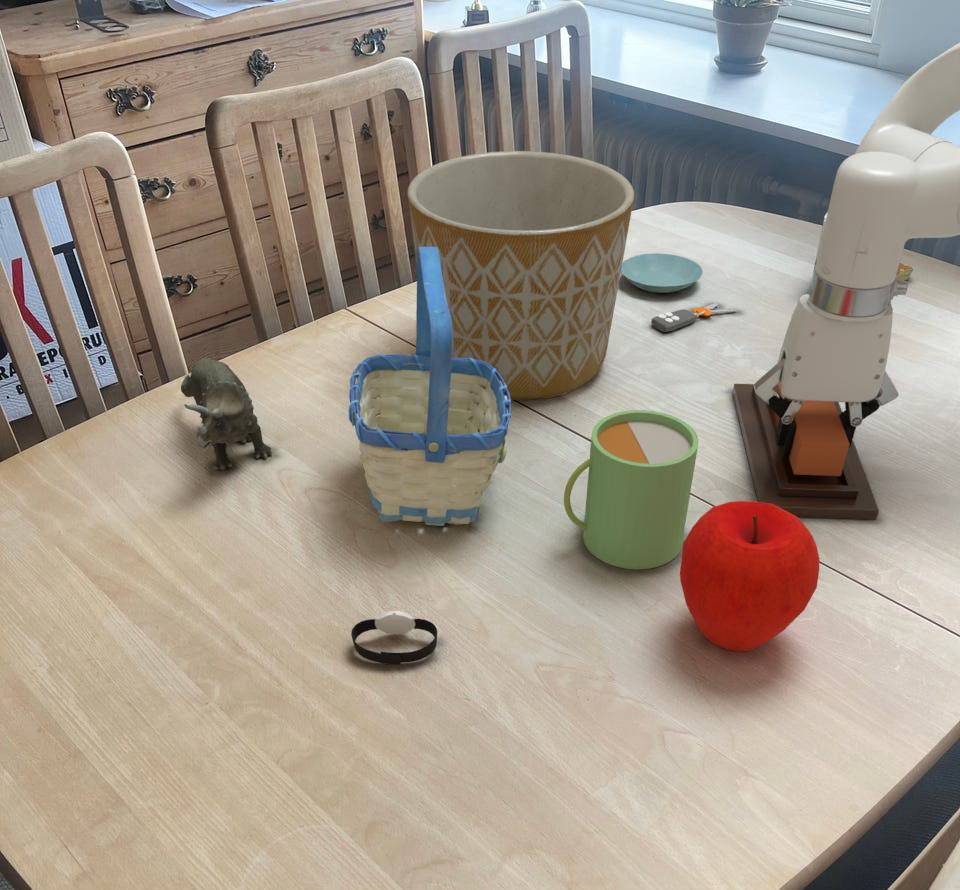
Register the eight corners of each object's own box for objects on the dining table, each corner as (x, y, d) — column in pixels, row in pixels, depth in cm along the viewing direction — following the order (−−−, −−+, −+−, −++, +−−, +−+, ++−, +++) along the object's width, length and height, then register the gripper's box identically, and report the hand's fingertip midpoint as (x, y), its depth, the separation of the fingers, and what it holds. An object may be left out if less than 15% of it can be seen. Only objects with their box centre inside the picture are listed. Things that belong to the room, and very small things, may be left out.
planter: (624, 324, 143) (641, 156, 128) (608, 423, 124) (625, 240, 109) (438, 309, 146) (433, 144, 131) (394, 403, 127) (383, 223, 112)
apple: (800, 603, 100) (832, 486, 91) (799, 688, 91) (834, 569, 82) (675, 585, 102) (694, 469, 93) (663, 667, 93) (683, 548, 84)
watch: (438, 632, 97) (437, 602, 94) (437, 667, 93) (436, 637, 91) (354, 633, 97) (351, 603, 94) (351, 668, 93) (348, 638, 91)
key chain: (666, 335, 141) (668, 325, 140) (648, 325, 143) (649, 315, 142) (737, 312, 146) (739, 302, 145) (719, 302, 148) (721, 292, 147)
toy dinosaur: (184, 404, 127) (165, 317, 119) (253, 394, 129) (239, 307, 121) (205, 505, 112) (185, 412, 104) (284, 491, 114) (270, 399, 106)
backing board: (732, 392, 129) (739, 353, 126) (830, 395, 129) (840, 356, 125) (761, 515, 110) (770, 474, 107) (876, 519, 110) (889, 478, 106)
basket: (517, 542, 107) (523, 326, 91) (356, 548, 106) (335, 332, 90) (500, 434, 122) (503, 233, 106) (359, 439, 121) (341, 237, 105)
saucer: (602, 283, 153) (603, 267, 151) (654, 260, 159) (656, 245, 157) (664, 309, 146) (666, 293, 145) (716, 284, 152) (719, 269, 151)
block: (780, 430, 118) (787, 398, 115) (825, 431, 118) (833, 400, 115) (793, 474, 112) (801, 442, 109) (840, 476, 111) (849, 444, 109)
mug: (663, 503, 112) (678, 403, 104) (695, 563, 104) (713, 461, 96) (549, 515, 110) (554, 415, 102) (572, 577, 103) (580, 474, 95)
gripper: (929, 277, 105) (881, 435, 117) (757, 273, 105) (728, 430, 118) (949, 311, 99) (897, 472, 111) (767, 306, 100) (735, 467, 112)
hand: (810, 449), depth 114 cm, fingers closed on block, 5 cm apart
